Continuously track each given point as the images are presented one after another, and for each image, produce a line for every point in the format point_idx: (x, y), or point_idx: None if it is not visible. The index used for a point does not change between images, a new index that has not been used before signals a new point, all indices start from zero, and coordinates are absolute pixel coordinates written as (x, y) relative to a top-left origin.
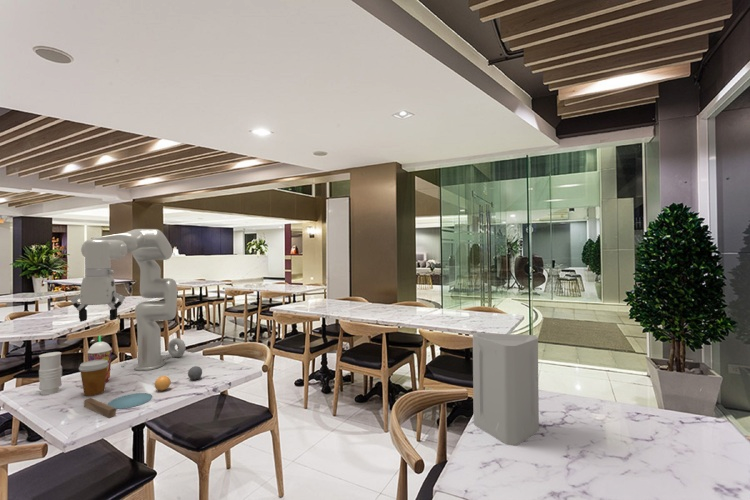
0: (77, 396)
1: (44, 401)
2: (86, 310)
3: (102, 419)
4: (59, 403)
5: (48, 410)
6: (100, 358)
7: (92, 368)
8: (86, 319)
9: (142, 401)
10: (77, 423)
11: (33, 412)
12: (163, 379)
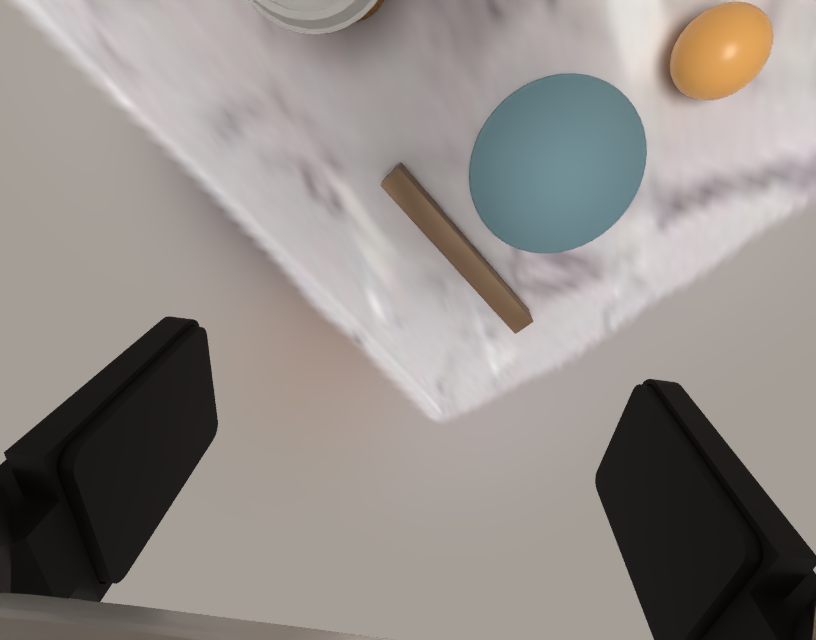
0: None
1: (162, 32)
2: (88, 460)
3: (493, 324)
4: (253, 92)
5: (258, 171)
6: None
7: (333, 24)
8: (201, 338)
9: (607, 205)
10: (425, 329)
11: (212, 174)
12: (737, 84)
